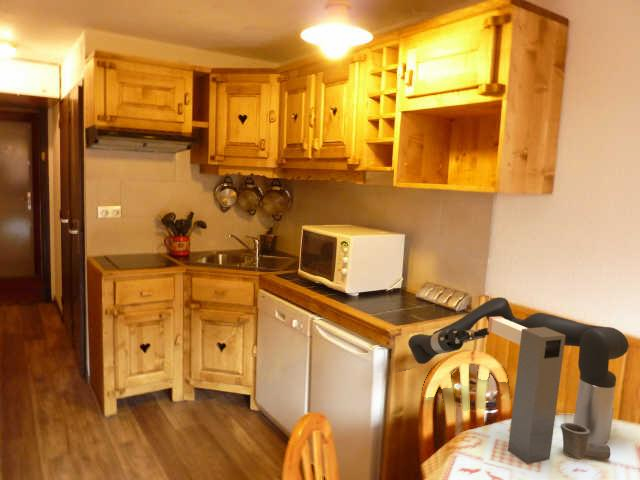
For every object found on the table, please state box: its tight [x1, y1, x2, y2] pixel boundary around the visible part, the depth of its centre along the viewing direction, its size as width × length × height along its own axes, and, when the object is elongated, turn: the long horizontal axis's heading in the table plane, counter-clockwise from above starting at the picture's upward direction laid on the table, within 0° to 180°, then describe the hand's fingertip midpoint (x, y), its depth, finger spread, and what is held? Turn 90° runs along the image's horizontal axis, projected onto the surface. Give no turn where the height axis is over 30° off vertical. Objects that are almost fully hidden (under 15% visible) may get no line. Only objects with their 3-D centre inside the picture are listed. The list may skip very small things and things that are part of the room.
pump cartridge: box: [487, 316, 527, 346], centre depth 141 cm, size 4×15×4 cm, turn 22°
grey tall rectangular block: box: [507, 327, 566, 465], centre depth 133 cm, size 8×7×35 cm
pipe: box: [559, 422, 612, 460], centre depth 136 cm, size 6×13×8 cm, turn 78°
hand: (476, 332), depth 155 cm, fingers open, 8 cm apart
